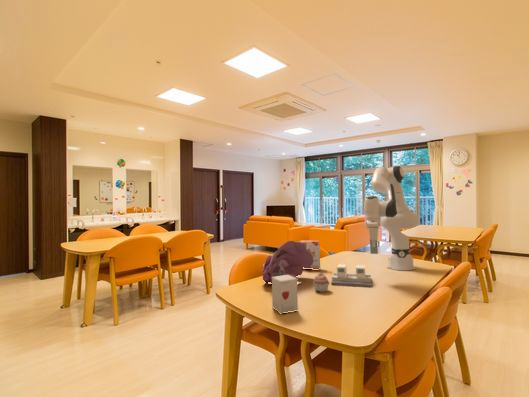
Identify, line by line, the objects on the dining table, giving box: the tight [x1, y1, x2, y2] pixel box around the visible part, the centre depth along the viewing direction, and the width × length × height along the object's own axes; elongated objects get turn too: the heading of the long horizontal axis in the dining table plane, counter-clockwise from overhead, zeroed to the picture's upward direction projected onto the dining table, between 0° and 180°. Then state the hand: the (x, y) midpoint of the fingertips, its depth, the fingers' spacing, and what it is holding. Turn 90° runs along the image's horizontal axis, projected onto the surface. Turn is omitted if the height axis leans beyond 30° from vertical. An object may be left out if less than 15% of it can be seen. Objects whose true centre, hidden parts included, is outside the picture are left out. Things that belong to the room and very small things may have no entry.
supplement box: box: [271, 275, 299, 313], centre depth 132 cm, size 9×9×15 cm
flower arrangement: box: [262, 240, 313, 283], centre depth 176 cm, size 35×24×28 cm
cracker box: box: [298, 239, 321, 269], centre depth 208 cm, size 14×6×21 cm, turn 68°
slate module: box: [369, 238, 379, 255], centre depth 171 cm, size 6×4×9 cm, turn 161°
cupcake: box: [312, 272, 331, 293], centre depth 158 cm, size 9×9×10 cm
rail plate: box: [330, 263, 372, 288], centre depth 173 cm, size 19×22×9 cm
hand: (373, 246), depth 171 cm, fingers closed on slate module, 6 cm apart
